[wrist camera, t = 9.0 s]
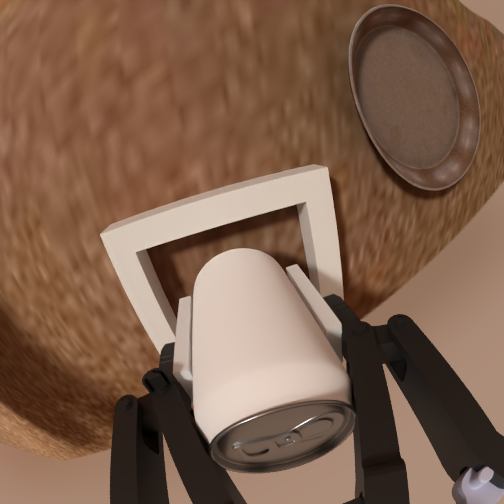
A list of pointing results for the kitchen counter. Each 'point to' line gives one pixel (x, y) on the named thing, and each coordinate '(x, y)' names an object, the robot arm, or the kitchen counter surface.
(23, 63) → the kitchen counter surface
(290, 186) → the socket collar
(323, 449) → the can
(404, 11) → the plant saucer
